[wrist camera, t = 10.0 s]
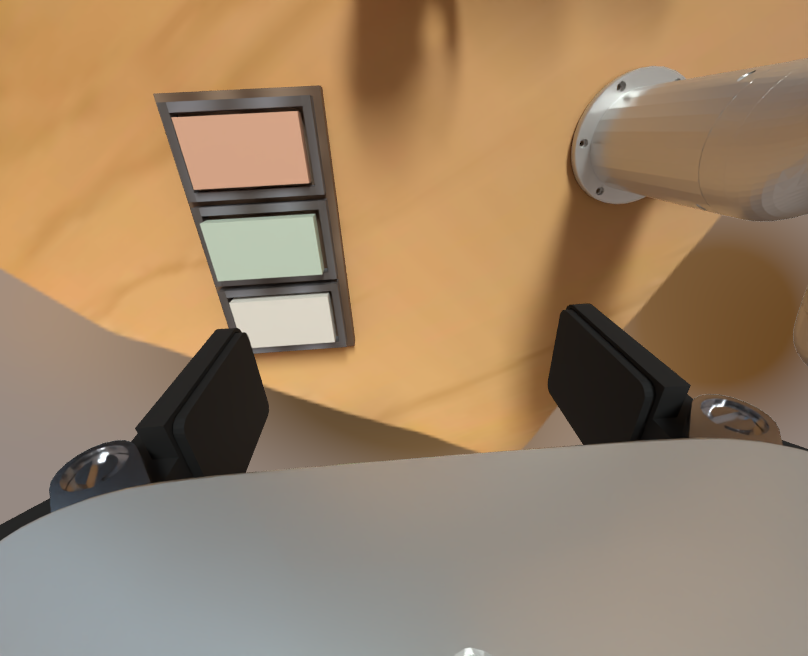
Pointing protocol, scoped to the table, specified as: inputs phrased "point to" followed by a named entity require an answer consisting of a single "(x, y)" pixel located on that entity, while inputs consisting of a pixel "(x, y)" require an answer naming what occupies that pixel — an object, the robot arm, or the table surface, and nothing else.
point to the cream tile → (285, 319)
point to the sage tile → (264, 247)
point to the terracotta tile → (244, 149)
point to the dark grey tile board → (271, 198)
